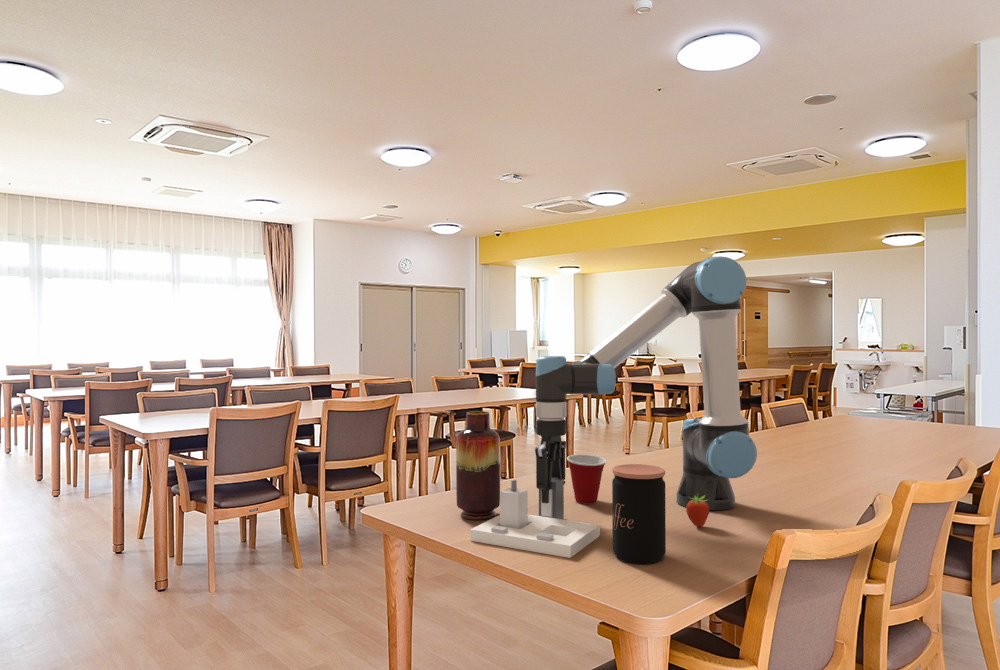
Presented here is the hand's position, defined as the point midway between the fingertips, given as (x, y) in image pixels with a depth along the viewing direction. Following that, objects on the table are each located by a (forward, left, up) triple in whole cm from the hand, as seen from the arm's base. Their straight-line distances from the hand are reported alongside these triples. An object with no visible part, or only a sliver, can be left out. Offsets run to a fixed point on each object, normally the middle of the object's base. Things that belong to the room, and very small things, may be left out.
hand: (551, 513), depth 163 cm
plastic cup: (-1, -21, -2) cm, 21 cm away
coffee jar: (-27, +16, -2) cm, 31 cm away
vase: (+18, +5, -2) cm, 19 cm away
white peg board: (-3, +15, -2) cm, 15 cm away
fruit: (-33, -11, -2) cm, 35 cm away
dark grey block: (0, 0, -2) cm, 2 cm away
